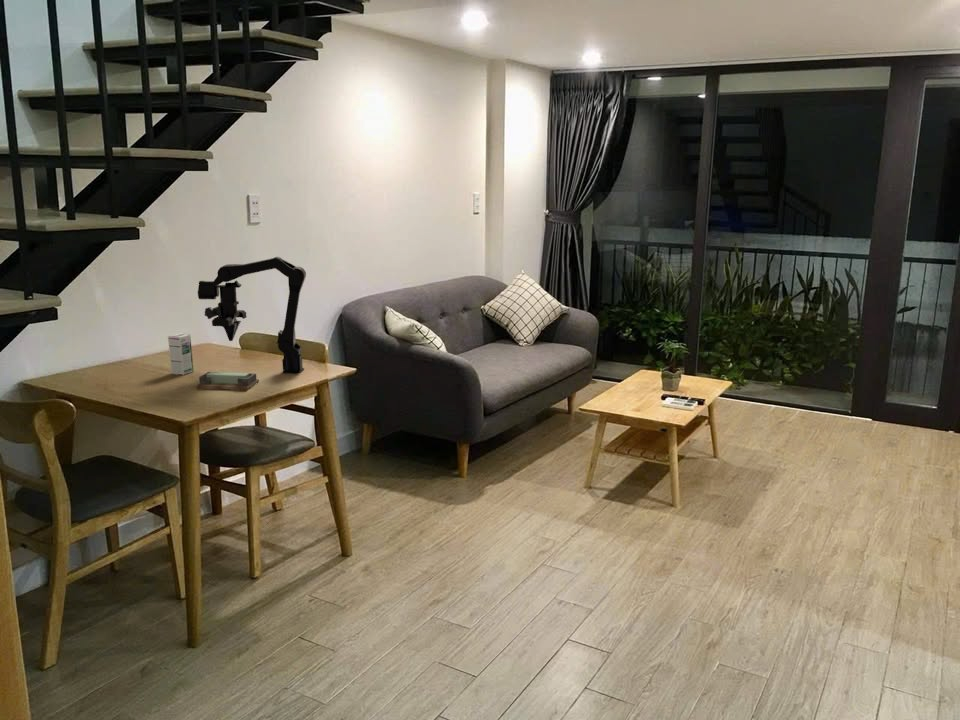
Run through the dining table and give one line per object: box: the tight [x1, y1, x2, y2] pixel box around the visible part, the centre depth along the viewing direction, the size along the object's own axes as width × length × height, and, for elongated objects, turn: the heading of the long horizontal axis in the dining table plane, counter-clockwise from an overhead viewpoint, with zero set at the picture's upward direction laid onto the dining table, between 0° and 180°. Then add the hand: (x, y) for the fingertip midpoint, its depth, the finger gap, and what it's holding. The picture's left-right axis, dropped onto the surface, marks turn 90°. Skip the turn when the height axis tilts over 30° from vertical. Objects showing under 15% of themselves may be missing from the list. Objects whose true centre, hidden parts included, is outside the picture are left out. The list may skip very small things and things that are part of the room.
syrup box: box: [167, 332, 194, 376], centre depth 299 cm, size 6×6×14 cm
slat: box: [206, 371, 249, 384], centre depth 283 cm, size 14×4×3 cm, turn 86°
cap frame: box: [196, 371, 260, 391], centre depth 283 cm, size 18×11×4 cm, turn 85°
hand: (230, 340), depth 299 cm, fingers closed
